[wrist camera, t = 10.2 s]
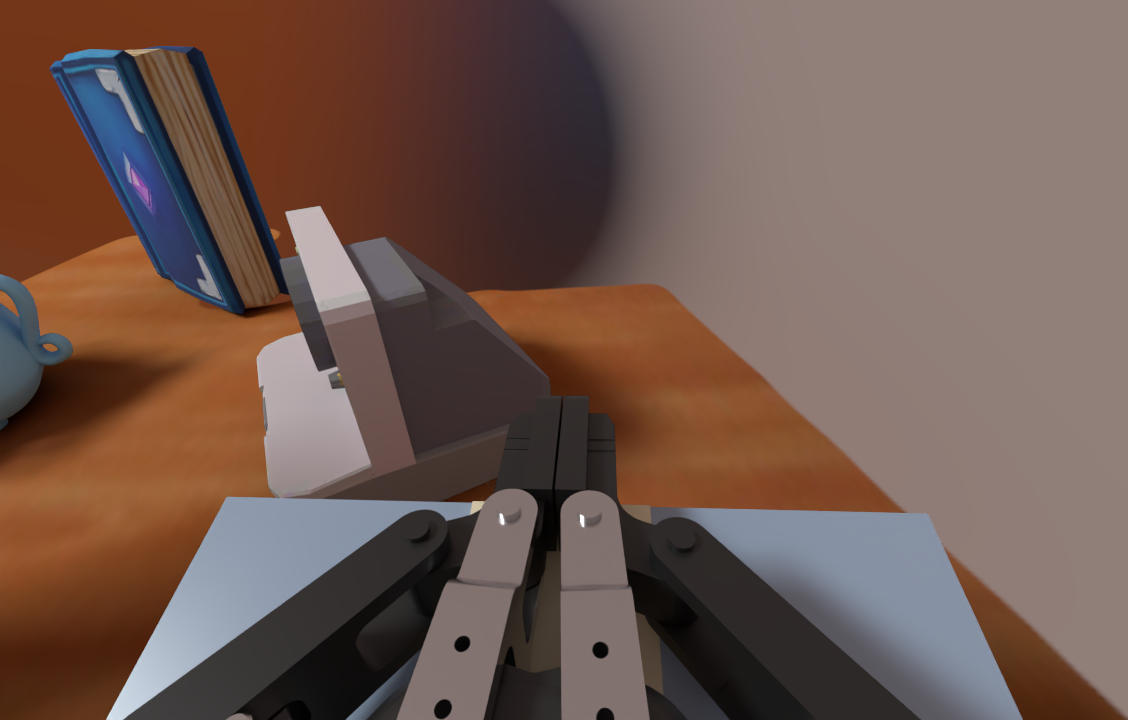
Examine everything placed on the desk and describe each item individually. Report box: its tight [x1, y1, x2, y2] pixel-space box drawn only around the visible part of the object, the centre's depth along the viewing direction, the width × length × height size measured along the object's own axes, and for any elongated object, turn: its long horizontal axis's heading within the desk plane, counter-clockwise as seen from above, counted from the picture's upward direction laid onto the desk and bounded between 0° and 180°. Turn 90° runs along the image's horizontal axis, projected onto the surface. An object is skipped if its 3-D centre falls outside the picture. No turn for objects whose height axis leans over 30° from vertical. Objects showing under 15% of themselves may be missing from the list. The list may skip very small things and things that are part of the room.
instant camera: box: [257, 206, 551, 502], centre depth 36 cm, size 21×21×15 cm
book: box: [50, 46, 290, 314], centre depth 55 cm, size 22×7×25 cm, turn 56°
